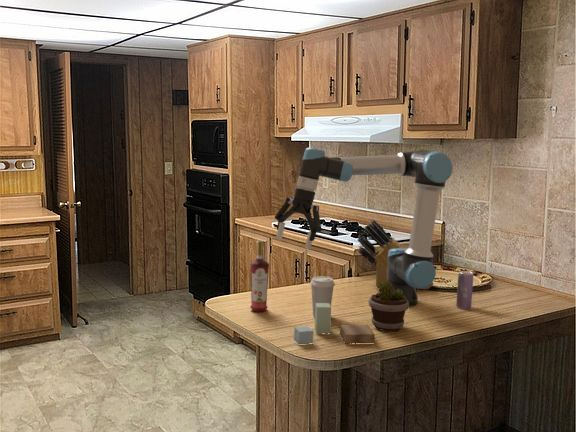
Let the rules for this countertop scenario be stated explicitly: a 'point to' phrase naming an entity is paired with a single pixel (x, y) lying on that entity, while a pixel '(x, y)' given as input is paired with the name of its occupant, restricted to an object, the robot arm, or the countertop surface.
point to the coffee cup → (321, 290)
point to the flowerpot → (388, 307)
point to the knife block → (382, 253)
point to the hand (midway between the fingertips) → (292, 243)
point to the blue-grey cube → (303, 335)
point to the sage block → (322, 318)
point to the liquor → (259, 280)
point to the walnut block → (356, 334)
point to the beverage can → (464, 290)
